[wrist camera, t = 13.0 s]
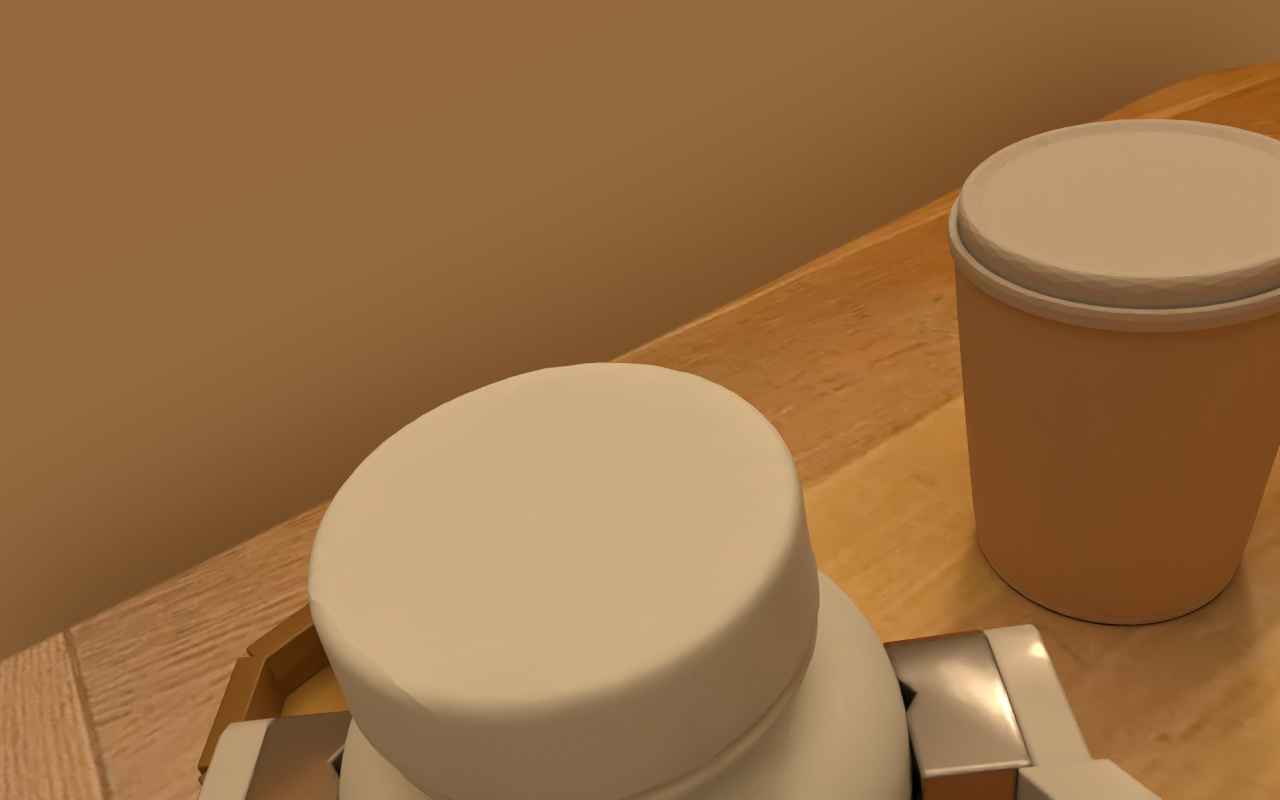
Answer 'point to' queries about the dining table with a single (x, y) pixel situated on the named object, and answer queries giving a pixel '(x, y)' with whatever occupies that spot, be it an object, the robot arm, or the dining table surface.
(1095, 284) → the coffee cup
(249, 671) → the cup holder
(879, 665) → the pill bottle
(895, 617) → the dining table surface
